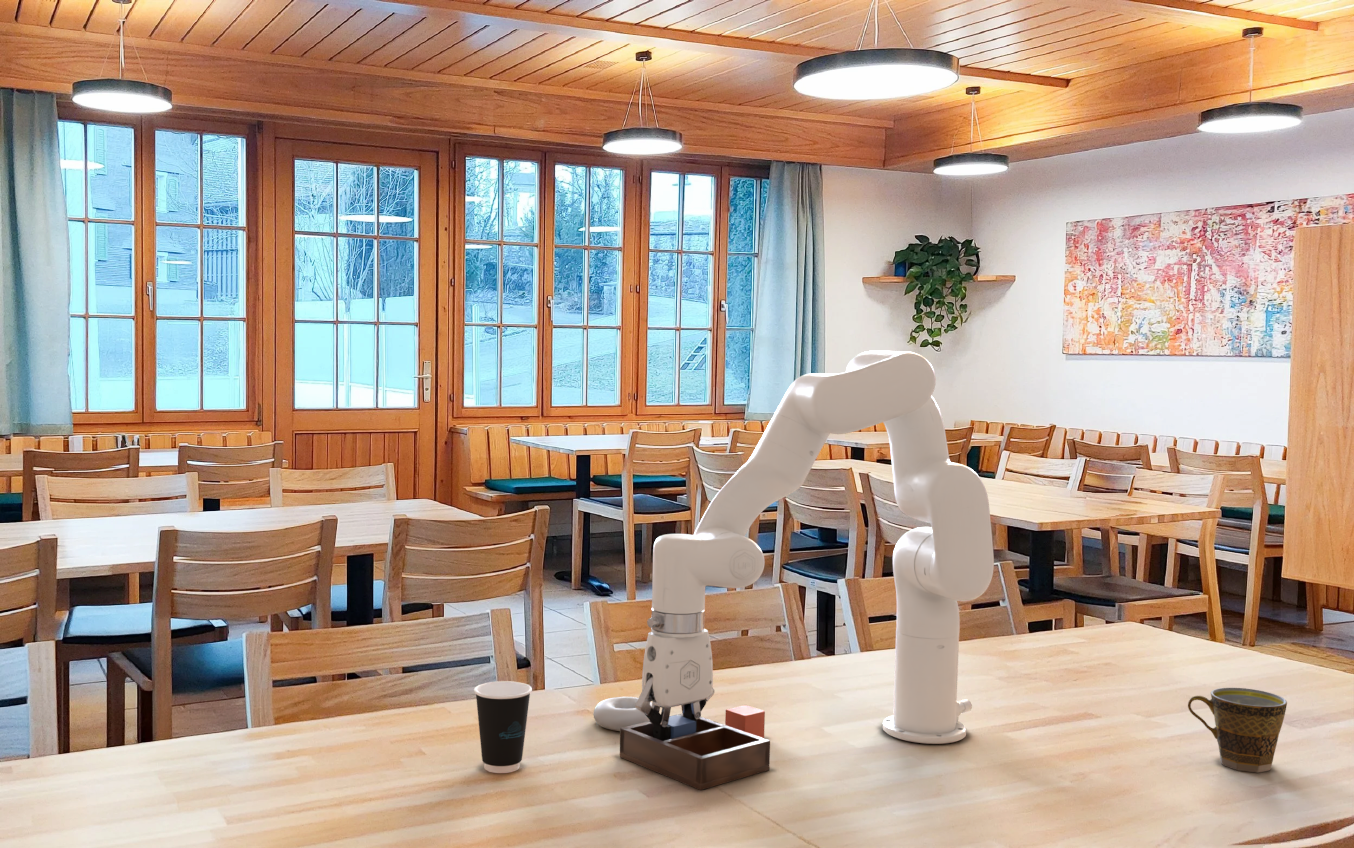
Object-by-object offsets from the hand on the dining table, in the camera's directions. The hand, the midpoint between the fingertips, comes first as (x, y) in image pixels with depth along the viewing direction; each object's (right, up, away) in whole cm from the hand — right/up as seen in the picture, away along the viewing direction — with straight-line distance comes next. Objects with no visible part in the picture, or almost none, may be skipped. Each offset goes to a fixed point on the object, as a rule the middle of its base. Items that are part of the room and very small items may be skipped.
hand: (674, 747), depth 177 cm
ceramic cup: (+81, -3, +3) cm, 81 cm away
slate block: (0, 0, 0) cm, 0 cm away
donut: (-8, -1, +15) cm, 17 cm away
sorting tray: (+3, -2, -3) cm, 4 cm away
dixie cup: (-24, -1, -6) cm, 25 cm away
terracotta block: (+10, -1, +9) cm, 14 cm away
